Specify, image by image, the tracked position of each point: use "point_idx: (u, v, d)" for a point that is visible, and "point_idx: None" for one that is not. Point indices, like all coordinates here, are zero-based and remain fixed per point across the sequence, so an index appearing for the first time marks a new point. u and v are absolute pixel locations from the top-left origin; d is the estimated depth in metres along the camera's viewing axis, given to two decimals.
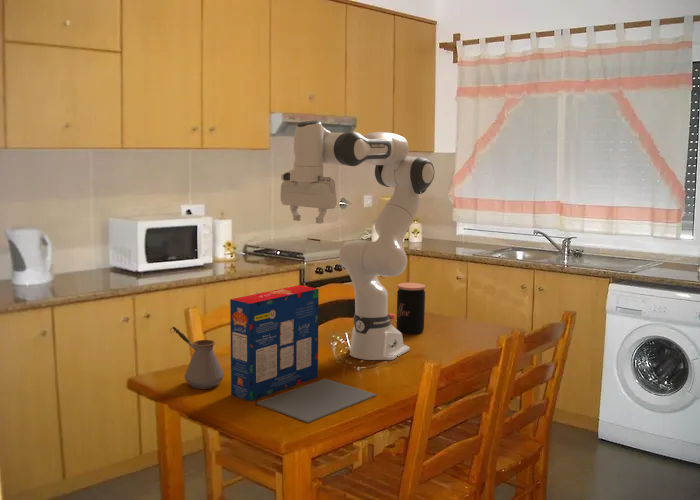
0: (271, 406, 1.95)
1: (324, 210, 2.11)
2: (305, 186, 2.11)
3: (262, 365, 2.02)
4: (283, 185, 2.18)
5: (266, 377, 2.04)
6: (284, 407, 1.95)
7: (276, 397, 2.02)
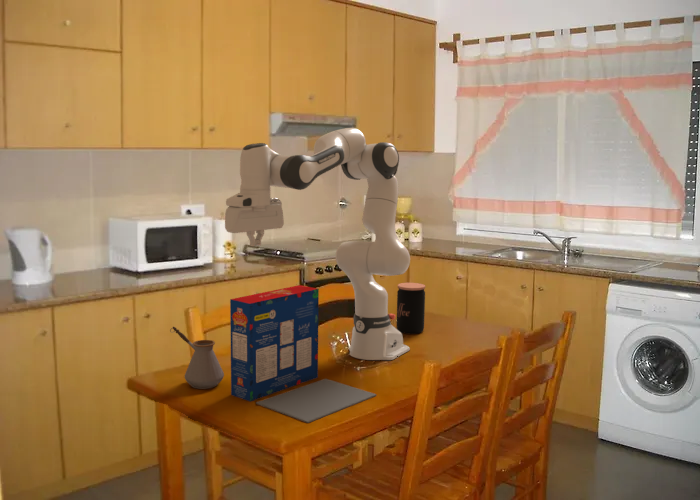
0: (271, 406, 1.95)
1: None
2: (265, 209, 2.11)
3: (262, 365, 2.02)
4: (239, 212, 2.04)
5: (266, 377, 2.04)
6: (284, 407, 1.95)
7: (276, 397, 2.02)
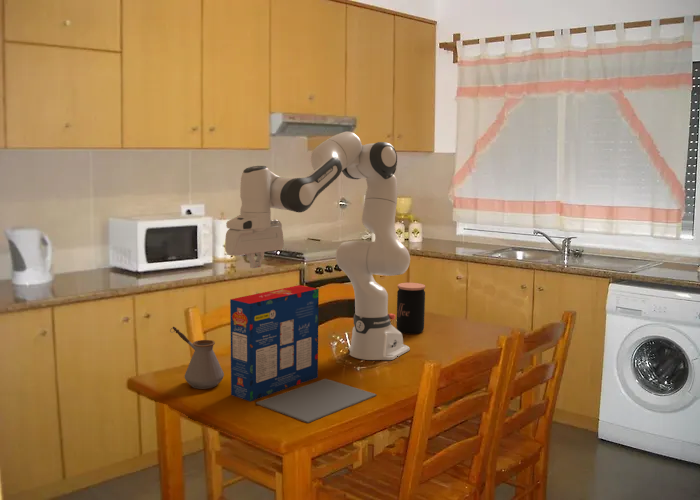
0: (271, 406, 1.95)
1: None
2: (265, 231, 2.12)
3: (262, 365, 2.02)
4: (239, 235, 2.05)
5: (266, 377, 2.04)
6: (284, 407, 1.95)
7: (276, 397, 2.02)
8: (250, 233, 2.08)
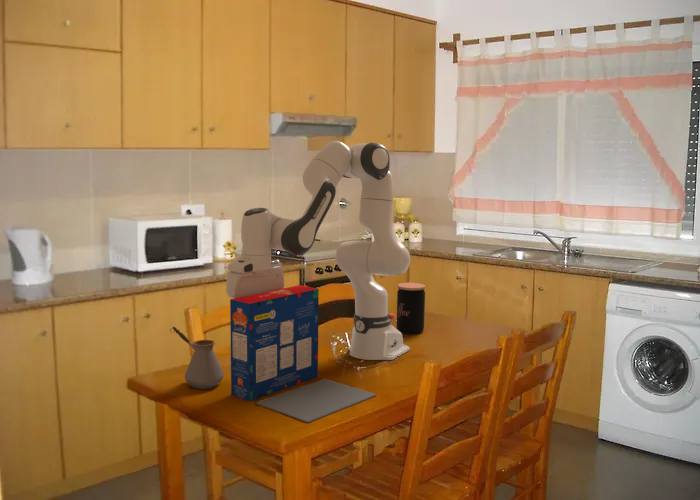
0: (271, 406, 1.95)
1: None
2: (266, 273, 2.13)
3: (262, 365, 2.02)
4: (240, 278, 2.06)
5: (266, 377, 2.04)
6: (284, 407, 1.95)
7: (276, 397, 2.02)
8: (251, 275, 2.09)
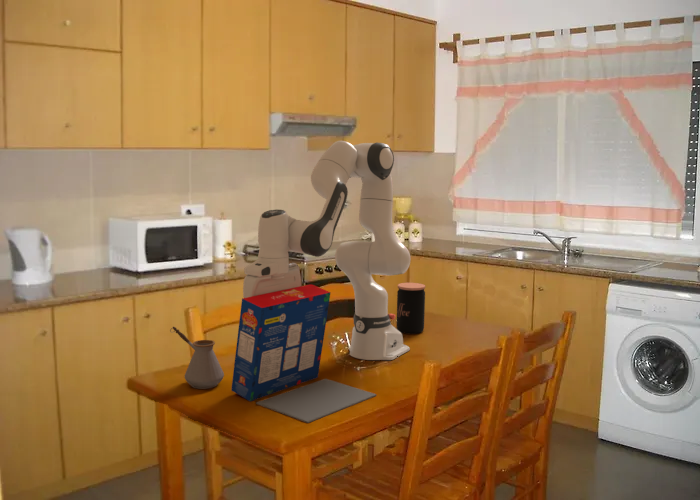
0: (271, 406, 1.95)
1: None
2: (283, 276, 2.08)
3: (266, 366, 2.01)
4: (258, 281, 2.01)
5: (268, 378, 2.03)
6: (284, 407, 1.95)
7: (276, 397, 2.02)
8: (268, 279, 2.04)
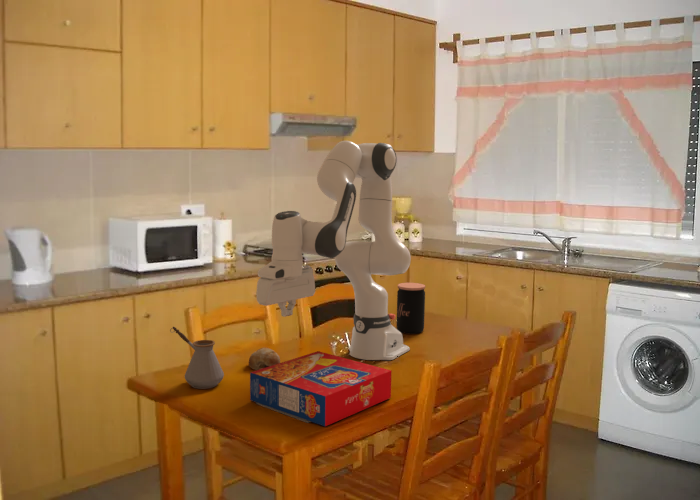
0: None
1: None
2: (297, 279, 2.05)
3: None
4: (272, 284, 1.98)
5: None
6: None
7: None
8: (282, 282, 2.01)
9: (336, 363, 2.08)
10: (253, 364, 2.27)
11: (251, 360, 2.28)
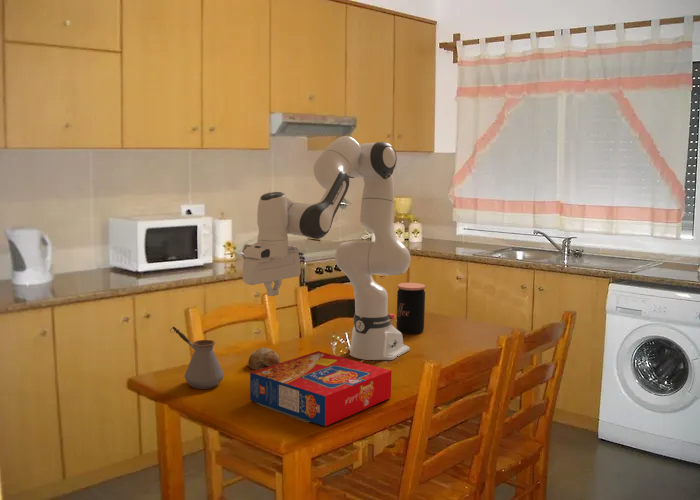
0: None
1: None
2: (283, 259, 2.08)
3: None
4: (257, 264, 2.01)
5: None
6: None
7: None
8: (268, 261, 2.04)
9: (336, 363, 2.08)
10: (253, 364, 2.27)
11: (251, 360, 2.28)
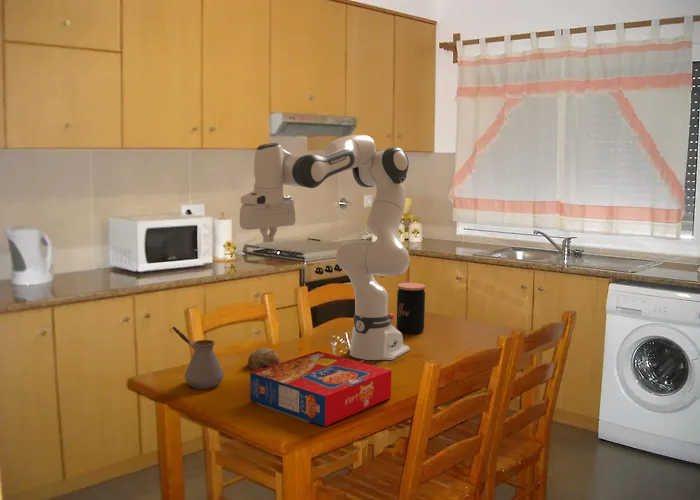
0: None
1: None
2: (278, 207, 2.18)
3: None
4: (253, 209, 2.12)
5: None
6: None
7: None
8: (263, 208, 2.15)
9: (336, 363, 2.08)
10: (252, 364, 2.27)
11: (251, 359, 2.28)
